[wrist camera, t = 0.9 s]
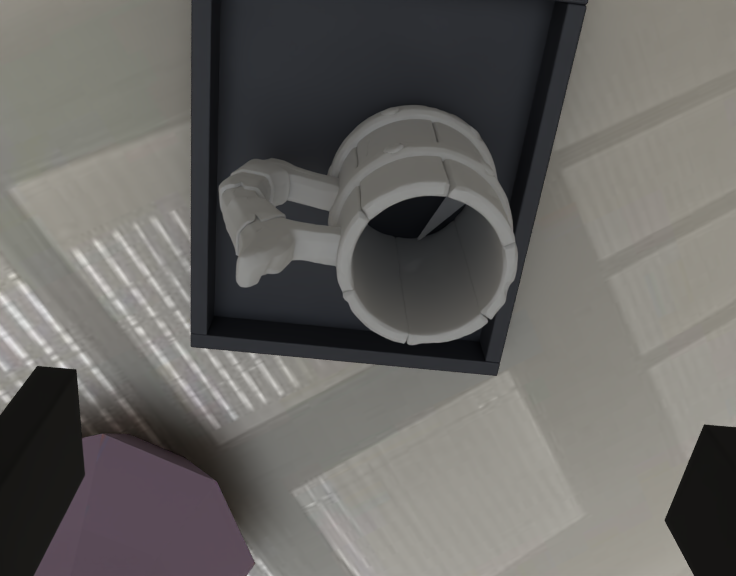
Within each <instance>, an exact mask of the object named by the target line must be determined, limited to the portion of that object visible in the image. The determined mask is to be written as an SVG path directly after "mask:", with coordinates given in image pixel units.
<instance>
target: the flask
mask: <svg viewBox="0 0 736 576" xmlns="http://www.w3.org/2000/svg"><path fill="white" fill-rule="evenodd" d="M82 444H83V456H84V468H85V476H84V478H83V480H82V482H81V484H80V486H79V488H78V490H77V492H76V494H75V496H74V498H73V500H72V502H71V504H70V506H69V508H68V510H67V512H66V514H65V516H64V518H63V520H62V522H61V523H60V525H59V527H58V529H57V531H56V533H55V535H54V537H53V539H52V541H51V543H50V545H49V547H48V549H47V551H46V553H45V555H44V557H43V559H42V561H41V563H40V565H39V567H38V569H37V570H36V572H35V574H34V576H246V575H247V574H248V573H249V571H250V570H251V569H252V567H253V566H254V564H255V562H254V560H253V558H252V556H251V553H250V551H249V549H248V547H247V545H246V543H245V541H244V539H243V536H242V534H241V532H240V530H239V528H238V526H237V524H236V521H235V519H234V517H233V515H232V513H231V511H230V509H229V507H228V504H227V502H226V500H225V498H224V496H223V494H222V492H221V490H220V487H219V485H218V483H217V481H216V480H214V479H213V478H212V477H210V476H209V475H208V474H206V473H205V472H204V471H202V470H201V469H199V468H198V467H197V466H195V465H194V464H193V463H191V462H190V461H189V460H187V459H186V458H184V457H182V456H179V455H177V454H175V453H172V452H170V451H168V450H165V449H163V448H160V447H158V446H156V445H153V444H151V443H149V442H146V441H144V440H141V439H139V438H137V437H134V436H132V435H130V434H98V435H93V436H89V437H84V438H82Z"/></svg>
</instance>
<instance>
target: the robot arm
mask: <svg viewBox="0 0 736 576" xmlns="http://www.w3.org/2000/svg"><path fill="white" fill-rule="evenodd" d="M84 476H85V468H84V456H83V444H82V432H81V420H80V408H79V396H78V384H77V372H76V369H65V368H53V367H42V366H37V367H36V368H35V370H34V371H33V372H32V374H31V375H30V376H29V378H28V379H27V380H26V382H25V383H24V384H23V386H22V387H21V388H20V390H19V391H18V392H17V394H16V395H15V396H14V398H13V399H12V400H11V402H10V403H9V404H8V405H7V407H6V408H5V409H4V411H3V412H2V413H1V415H0V576H34V574H35V572H36V570H37V569H38V567H39V565H40V563H41V561H42V559H43V557H44V555H45V553H46V551H47V549H48V547H49V545H50V543H51V541H52V539H53V537H54V535H55V533H56V531H57V529H58V527H59V525H60V523H61V522H62V520H63V518H64V516H65V514H66V512H67V510H68V508H69V506H70V504H71V502H72V500H73V498H74V496H75V494H76V492H77V490H78V488H79V486H80V484H81V482H82V480H83V478H84ZM665 522H666V524H667V526H668V528H669V530H670V532H671V533H672V535H673V537H674V539H675V541H676V543H677V545H678V546H679V548H680V550H681V552H682V554H683V556H684V558H685V560H686V561H687V563H688V565H689V567H690V569H691V571H692V573H693V574H694V576H736V427H726V426H714V425H704V426H703V428H702V431H701V433H700V436H699V438H698V440H697V443H696V445H695V448H694V450H693V453H692V455H691V457H690V460H689V462H688V465H687V467H686V470H685V472H684V474H683V477H682V479H681V482H680V484H679V487H678V489H677V491H676V494H675V496H674V499H673V501H672V504H671V506H670V508H669V511H668V513H667V516H666V518H665Z"/></svg>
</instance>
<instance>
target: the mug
mask: <svg viewBox="0 0 736 576" xmlns="http://www.w3.org/2000/svg"><path fill="white" fill-rule="evenodd" d="M420 196H446V198H445V199H444V201H443V202H442V204H441V205H440V206H439V208H438V209H437V211H436V212H435V214H434V215H433V217H432V218H431V219H430V221H429V222H428V224H427V225H426V227H425V228H424V230H423V231H422V232H421V234H420V235H419V237H418V238H410V239H409V238H401V237H397V238H396V239H395V237H393V236H390V235H386V234H383V233H380V232H378V231H376V230H375V229H373V228H371V227H370V226H369V225H368V222H369V221H370V219H373V218H374V217H375V216H376V215H378V214H379V213H380V212H382V211H383V210H385V209H386V208H388V207H390V206H392V205H394V204H396V203H398V202H401V201H403V200H406V199H410V198H414V197H420ZM219 200H220V208H221V211H222V213H223V219H224V222H225V224H226V229H227V231H228V233H229V235H230V237H231V239H232V242H233V245H234V247H235V251H236V255H237V256H238V259H237V265H236V281H237V283H238V285H239V286H240V287H251V286H253V285H256V284H257V283H258V282H259V280H260V278H261V276H262V275H266V274H278V273H279V272H281V271H282V270H283V269H284V268H285V267H286V266H287V265H288V264H289V263H290V262H291V261H292V260H305V261H310V262H314V263H321V264H325V265H332V266H336V271H337V279H338V283H339V285H340V288H341V290H342V292H343V298H344V299H345V300H346V301H347V302H348V303H349V306H350V308H351V310H352V312H353V313H354V314H355V315H356V316H357V318H358V319H359V320H360V321H361V322H362V323H363V324H364V325H365V326H367V327H368V328H369V329H370V330H372V331H373V332H375V333H377V334H379V335H380V336H383V337H385V338H387V339H389V340H392V341H395V342H399V343H403V344H404V343H405V342H406V341H407V344H409V345H417V344H420V343H441V342H448V341H452V340H455V339H459V338H461V337H463V336H466V335H469V334H471V333H473V332H475V331H476V330H478V329H480V328H482V327H483V326H484V325H486V324H487V323H488V319H487V318H489V319H492V318H493V317H494V316H495V314H496V313H497V312H498V310H499V309H500V308H501V307H502V306H503V305H504V303H505V301H506V296H507V291H508V288H509V286H510V284H511V283H512V282H513V281H514V279H515V276H516V271H517V261H518V251H517V246H516V243H515V236H514V233H513V220H512V215H511V210H510V206H509V202H508V199H507V196H506V194H505V192H504V190H503V189H502V187H501V185H500V183H499V182H498V180H497V173H496V168H495V165H494V162H493V159H492V156H491V154H490V152H489V150H488V148H487V146H486V144H485V143H484V141H483V140H482V138H481V137H480V135H479V133H478V132H477V131H476V130H475V129H474V128H473V127H472V126H470V125H468V124H467V123H466V122H465V121H463V120H462V119H460V118H459V117H457V116H456V115H454V114H449V113H447V112H445V111H442V110H439V109H437V108H432V107H427V106H423V105H404V106H397V107H391V108H388V109H386V110H383V111H381V112H379V113H376V114H374V115H373V116H371V117H369V118H367V119H366V120H364V121H363V122H362V123H360V124H359V125H358V126H357V127H356V128H355V129H354V130H353V131H352V132H351V133H350V134H349V135H348V136H347V137H346V138H345V140H344V141H343V142H342V144H341V145H340V147H339V149H338V150H337V152H336V154H335V157H334V159H333V162H332V165H331V166H330V168H329V170H328V174H327V175H324V174H319V173H315V172H312V171H308V170H305V169H302V168H299V167H296V166H294V165H292V164H290V163H288V162H286V161H284V160H279V159H275V158H270V159H266V160H261V159H252V160H250V161H248V162H247V163H246V164H244V165H243V166H241V167H240V168H239V169H237V170H236V171H234V172H233V173H231V176H230V177H228V178H227V179H225V180H224V181H223V182H222V183H221V184H220V185H219ZM287 200H288V201H292V202H296V203H300V204H304V205H308V206H312V207H315V208H318V209H322V210H327V211H330V212H329V218H328V225H329V226H325V225H315V224H310V223H303V222H298V221H293V220H289V219H286V216H285V214H283V213H282V212H280V211H279V210H278V209H277V208H276V206H278V205H282V204H283V203H285V202H286V201H287ZM464 204H466V205H465V207H464V208H463V210H462V211H461V212H460V213H459V214H458V215H457V216H456V218H455V221H452V222H450V223H449V224H448V225H447V226H446V227H444V228H443V229H441V230H440V231H438V232H436V233H433V234H431V235H428V236H426V235H427V234H428V233H429V232H431V231H432V230H433V229H434V228H436V227H437V226H438V225H439V224H441V223H442V222H443V221H444V220H446V219H447V218H448V217H449V216H451V215H452V214H453V213H454V212H455V211H457V210H458V209H459V208H460V207H462V206H463V205H464Z"/></svg>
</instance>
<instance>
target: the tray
mask: <svg viewBox="0 0 736 576" xmlns="http://www.w3.org/2000/svg"><path fill="white" fill-rule="evenodd" d="M587 3H588V0H192V37H191V347H197V348H207V349H218V350H228V351H239V352H250V353H260V354H271V355H281V356H292V357H303V358H313V359H324V360H334V361H345V362H356V363H366V364H377V365H387V366H398V367H409V368H419V369H430V370H440V371H451V372H462V373H472V374H483V375H493V376H497V374H498V369H499V365H500V361H501V357H502V352H503V348H504V344H505V340H506V336H507V332H508V328H509V324H510V320H511V315H512V311H513V307H514V303H515V299H516V295H517V291H518V287H519V283H520V279H521V274H522V270H523V266H524V262H525V258H526V254H527V250H528V246H529V242H530V237H531V233H532V229H533V225H534V221H535V217H536V213H537V209H538V205H539V200H540V196H541V192H542V188H543V184H544V180H545V176H546V172H547V168H548V163H549V159H550V155H551V151H552V147H553V143H554V139H555V135H556V131H557V127H558V122H559V118H560V114H561V110H562V106H563V102H564V98H565V94H566V90H567V85H568V81H569V77H570V73H571V69H572V65H573V61H574V57H575V53H576V48H577V44H578V40H579V36H580V32H581V28H582V24H583V20H584V16H585V12H586V4H587ZM404 105H423V106H427V107H432V108H437V109H439V110H442V111H445V112H447V113H449V114H454V115H456V116H457V117H459V118H460V119H462V120H463V121H465V122H466V123H467V124H468V125H470V126H472V127H473V128H474V129H475V130H476V131H477V132H478V133H479V135H480V137H481V138H482V140H483V141H484V143H485V144H486V146H487V148H488V150H489V152H490V154H491V156H492V159H493V162H494V165H495V168H496V173H497V180H498V182H499V183H500V185H501V187H502V189H503V190H504V192H505V194H506V196H507V199H508V202H509V206H510V210H511V215H512V220H513V233H514V236H515V243H516V246H517V251H518V261H517V271H516V276H515V279H514V281H513V282H512V283H511V284H510V286H509V288H508V291H507V296H506V301H505V303H504V305H503V306H502V307H501V308H500V309H499V310H498V312H497V313H496V314H495V316H494V317H493V318H492V319H489V318H487V319H488V323H487V324H486V325H484V326H483V327H482V328H480V329H478V330H476V331H475V332H473V333H471V334H469V335H466V336H463V337H461V338H459V339H455V340H452V341H448V342H441V343H420V344H417V345H409V344H407V341H406V342H405V343H404V344H403V343H399V342H395V341H392V340H389V339H387V338H385V337H383V336H380V335H379V334H377V333H375V332H373V331H372V330H370V329H369V328H368V327H367V326H365V325H364V324H363V323H362V322H361V321H360V320H359V319H358V318H357V316H356V315H355V314H354V313H353V312H352V310H351V308H350V306H349V303H348V302H347V301H346V300H345V299H344V298H343V292H342V290H341V288H340V285H339V283H338V279H337V271H336V266H332V265H325V264H321V263H314V262H310V261H305V260H292V261H291V262H290V263H289V264H288V265H287V266H286V267H285V268H284V269H283V270H282V271H281V272H279V273H278V274H266V275H262V276H261V278H260V280H259V282H258V283H257V284H256V285H253V286H251V287H240V286H239V285H238V283H237V281H236V265H237V259H238V256H237V255H236V251H235V247H234V245H233V242H232V239H231V237H230V235H229V233H228V231H227V229H226V224H225V222H224V219H223V213H222V211H221V208H220V200H219V185H220V184H221V183H222V182H223V181H224V180H225V179H227V178H228V177H230V176H231V173H233V172H234V171H236V170H237V169H239V168H240V167H241V166H243V165H244V164H246V163H247V162H248V161H250V160H252V159H261V160H266V159H270V158H275V159H279V160H284V161H286V162H288V163H290V164H292V165H294V166H296V167H299V168H302V169H305V170H308V171H312V172H315V173H319V174H324V175H327V174H328V170H329V168H330V166H331V165H332V162H333V159H334V157H335V154H336V152H337V150H338V149H339V147H340V145H341V144H342V142H343V141H344V140H345V138H346V137H347V136H348V135H349V134H350V133H351V132H352V131H353V130H354V129H355V128H356V127H357V126H358V125H359V124H360V123H362V122H363V121H364V120H366V119H367V118H369V117H371V116H373V115H374V114H376V113H379V112H381V111H383V110H386V109H388V108H391V107H397V106H404ZM445 198H446V196H420V197H414V198H410V199H406V200H403V201H401V202H398V203H396V204H394V205H392V206H390V207H388V208H386V209H385V210H383V211H382V212H380V213H379V214H378V215H376V216H375V217H374V218H373V219H370V221H369V222H368V225H369V226H370V227H371V228H373V229H375V230H376V231H378V232H380V233H383V234H386V235H390V236H393V237H395V239H396V238H397V237H401V238H409V239H410V238H418V237H419V235H420V234H421V232H422V231H423V230H424V228H425V227H426V225H427V224H428V222H429V221H430V219H431V218H432V217H433V215H434V214H435V212H436V211H437V209H438V208H439V206H440V205H441V204H442V202H443V201H444V199H445ZM465 205H466V204H464V205H463V206H462V207H460V208H459V209H458V210H457V211H455V212H454V213H453V214H452V215H451V216H449V217H448V218H447V219H446V220H444V221H443V222H442V223H441V224H439V225H438V226H437V227H436V228H434V229H433V230H432V231H431V232H429V233H428V234H427V235H426V236H428V235H431V234H433V233H436V232H438V231H440V230H441V229H443V228H444V227H446V226H447V225H448V224H449V223H450V222H452V221H455V218H456V216H457V215H458V214H459V213H460V212H461V211H462V210H463V208H464V207H465ZM276 208H277V209H278V210H279V211H280V212H282V213H283V214H285V216H286V219H289V220H293V221H298V222H303V223H310V224H315V225H325V226H329V225H328V218H329V212H330V211H327V210H322V209H318V208H315V207H312V206H308V205H304V204H300V203H296V202H292V201H288V200H287V201H286V202H285V203H283V204H282V205H278V206H276Z"/></svg>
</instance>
